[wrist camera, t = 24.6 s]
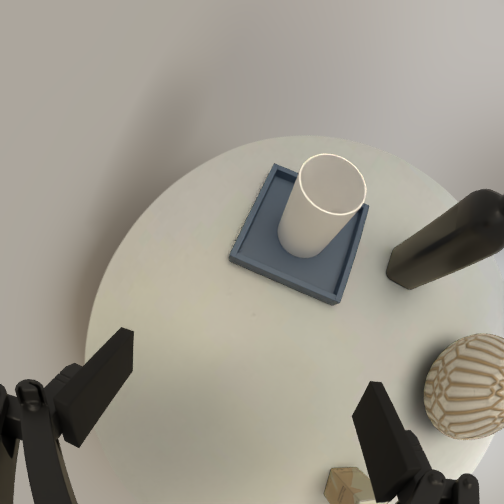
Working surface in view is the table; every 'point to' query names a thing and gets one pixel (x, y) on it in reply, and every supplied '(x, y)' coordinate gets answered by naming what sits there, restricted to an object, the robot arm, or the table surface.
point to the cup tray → (285, 264)
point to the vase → (467, 388)
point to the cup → (320, 204)
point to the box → (349, 487)
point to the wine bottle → (451, 241)
